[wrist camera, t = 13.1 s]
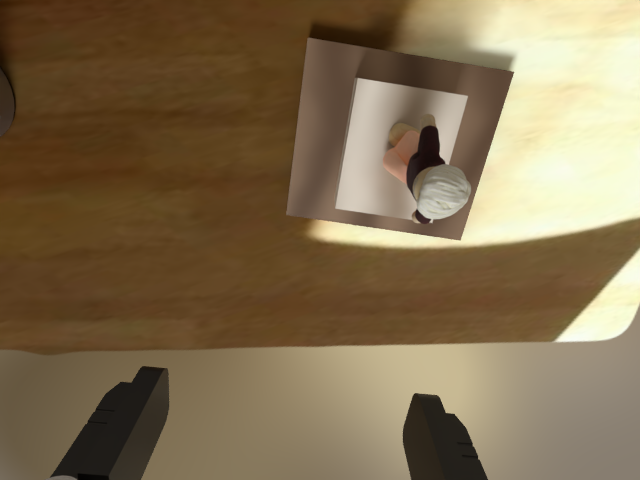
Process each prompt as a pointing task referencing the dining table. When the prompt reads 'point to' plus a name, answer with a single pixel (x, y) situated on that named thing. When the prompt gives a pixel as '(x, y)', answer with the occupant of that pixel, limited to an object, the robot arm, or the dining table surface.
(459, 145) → the plinth
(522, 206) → the dining table surface
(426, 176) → the grandmother figurine
